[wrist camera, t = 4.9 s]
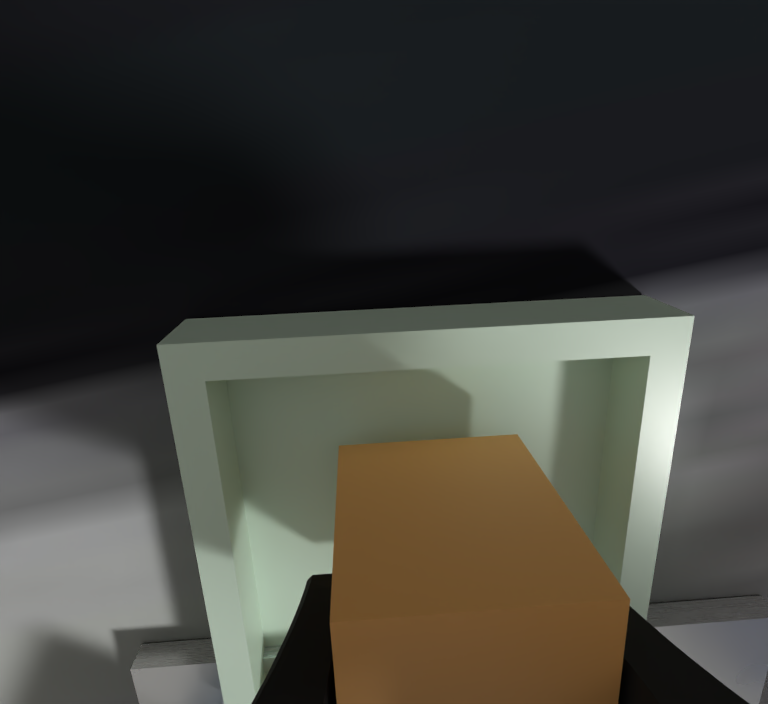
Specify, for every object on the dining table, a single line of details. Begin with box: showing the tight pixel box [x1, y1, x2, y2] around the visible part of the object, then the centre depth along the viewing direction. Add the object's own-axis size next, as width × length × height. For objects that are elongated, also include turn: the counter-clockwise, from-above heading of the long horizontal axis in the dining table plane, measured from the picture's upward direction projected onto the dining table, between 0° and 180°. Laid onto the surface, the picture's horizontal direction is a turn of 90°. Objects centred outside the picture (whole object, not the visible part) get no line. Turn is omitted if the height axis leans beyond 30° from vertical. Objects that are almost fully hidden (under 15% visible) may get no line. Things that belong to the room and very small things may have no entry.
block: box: [330, 434, 630, 704], centre depth 10 cm, size 4×4×5 cm
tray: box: [157, 295, 694, 704], centre depth 13 cm, size 11×11×2 cm
